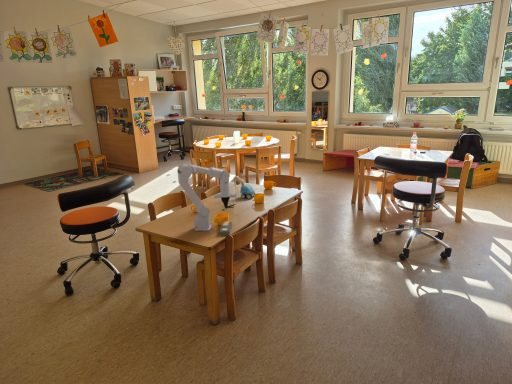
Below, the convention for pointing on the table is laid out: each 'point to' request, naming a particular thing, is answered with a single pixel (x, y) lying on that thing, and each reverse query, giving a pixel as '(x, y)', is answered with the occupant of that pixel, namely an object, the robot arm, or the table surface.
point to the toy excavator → (245, 189)
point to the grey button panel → (226, 231)
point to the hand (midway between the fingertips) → (226, 208)
